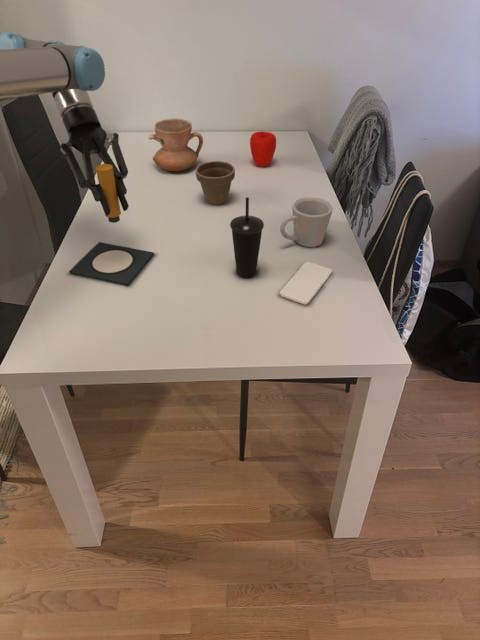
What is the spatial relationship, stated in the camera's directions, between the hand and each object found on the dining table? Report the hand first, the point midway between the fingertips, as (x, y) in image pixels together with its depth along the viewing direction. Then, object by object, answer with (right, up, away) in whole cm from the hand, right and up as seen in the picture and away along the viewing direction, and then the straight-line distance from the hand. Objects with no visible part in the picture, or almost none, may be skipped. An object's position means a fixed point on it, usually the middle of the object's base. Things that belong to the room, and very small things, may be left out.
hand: (117, 210), depth 107 cm
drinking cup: (+29, -13, +10) cm, 34 cm away
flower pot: (+20, +12, +38) cm, 45 cm away
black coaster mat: (-4, -11, +13) cm, 17 cm away
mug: (+44, -4, +21) cm, 49 cm away
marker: (-2, -1, +5) cm, 6 cm away
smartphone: (+44, -16, +6) cm, 47 cm away
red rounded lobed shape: (+35, +29, +58) cm, 74 cm away
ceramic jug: (+6, +28, +57) cm, 63 cm away
